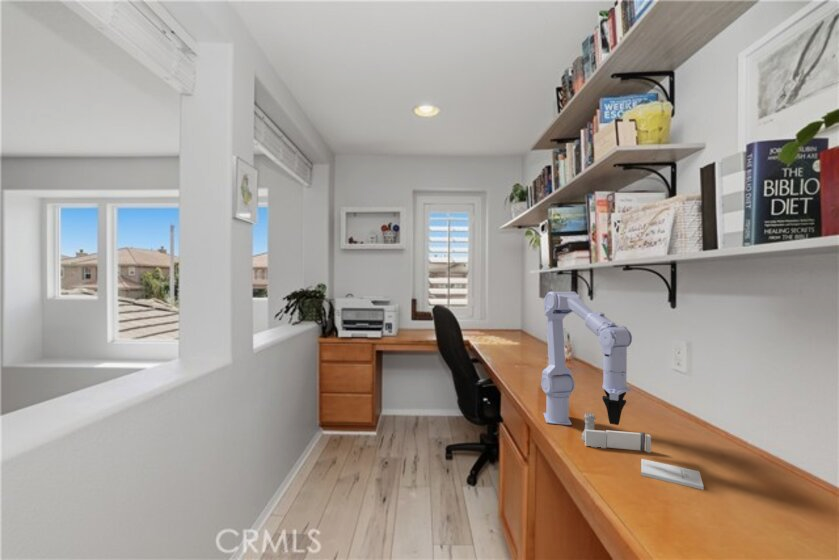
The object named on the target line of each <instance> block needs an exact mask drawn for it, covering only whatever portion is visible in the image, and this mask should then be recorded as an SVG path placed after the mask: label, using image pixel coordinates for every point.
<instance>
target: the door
mask: <svg viewBox="0 0 839 560" xmlns="http://www.w3.org/2000/svg"><path fill="white" fill-rule="evenodd" d="M605 432H606V448H610V449H611V448H612V449H621V450H622V449H623V450H631V451H632V450H633V451H640V452H641V451H643V452H644V451H645V432H643V431H640V432H630V431H622V430H619V431H618V430H607V429H606V430H605ZM645 452H646V451H645Z"/></svg>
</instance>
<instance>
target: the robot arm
mask: <svg viewBox="0 0 839 560" xmlns="http://www.w3.org/2000/svg"><path fill="white" fill-rule="evenodd" d="M543 307H544V316H545V318H546V333H547V334H546V335H547V336H546V337H547V351H548V352H547V353H548V366H546V367H545V368H544V369H543V370H542V371H541V372H542V373H541V380H540V381H541V382H540V384H541V385H540V386H541V389H542V391H543V392H544V394H545V397H546V399H545V400H546V401H545V403H546V406H545V408H546V410H545V411H546V412H543V416H544V420H545V422H546V424H550V425H551V424H552V425H554V424H555V425H565V426H571V425H572V422H571V420H570V417H569V415H570V412H569V410H570V396H572V393H573V392H574V390H575V388H576V383H575V380H574V377H573V371H572V370H571V369H570V368H569V367H567V365H566V355H565V338H564V325H563V323H564V322H563V319H565V317H566V316H568V315H570V314H571V313H572V312H573V313H575V314H576V315H577V316H578V317H580V318H581V319H582V320H584V321H585V327H587V328H588V329H589V330H590V331H591V332H593V334H595V336H597V338H598V342H599V344H600V347H601V353H602V354H603V357H602V358H603V366H602V367H603V369H602V371H603V372H602V373H603V375H602V376H603V377H602V378H603V379H602V380H603V381H602V382H603V383H602V389H603V391H604V393H605V395H602V400H603V403H604V405H605V408H606V412H607V417H608V423H609V424H610V425H616V426H619V424H620V421H621V416H622V412H623V409H624V406H625V405H626V403H627V399H625V396H626V394H627V392H632V387H630V386H627V372H628V371H627V366H628V365H627V363H628V361H627V360H628V359H627V357H628V356H627V354H628V353H627V352H628V351H627V350H628V347H629V346H631V344H632V341H633V335H632V332H631V331H630V330H629V329H628V327H626V326H624V325H621V326H619V325H617V324H616V323H615V322H614V321H612V320H611V319H610V318H608V317H607V316H605V313H604V312H602V311H600V312H599V311H593V310H592V309H591V308H590V307H589V306H588V305H587V304H586V303H585V302H584V301H583V300H582V299H581V295H580V294H577V292H576V291H548V292H547V293H546V295H545V296H544V297H543Z"/></svg>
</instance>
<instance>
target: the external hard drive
mask: <svg viewBox="0 0 839 560" xmlns="http://www.w3.org/2000/svg"><path fill="white" fill-rule="evenodd" d="M640 465H641V467H640V469H641V471H640V476H641V475H643V476H642V477H646V476H647V477H646V478H650V479H655V480H660V481H663V482H667V483H671V484H676V485H681V486H686V487H690V488H694V489H698V490H702V491H704V486H705V485H704V482H703V479H702V476H701V473H700V471H699V470H694V469H690V468H686V467H681V466H678V465H672V464H667V463H663V462H658V461H652V460H649V459H645V458H641V460H640Z"/></svg>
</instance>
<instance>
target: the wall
mask: <svg viewBox="0 0 839 560" xmlns="http://www.w3.org/2000/svg"><path fill="white" fill-rule="evenodd" d="M584 429H585V428H584ZM584 446H585V447H586V446H591V447H590V448H597V447H601V448H600V449H607V446H606V430H597V429H596V430H595V429H594V430H588V429H585V442H584ZM645 452H646V453H649V454H651V452H652V436H651V435H650V434H647V433H646V434H645Z"/></svg>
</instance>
